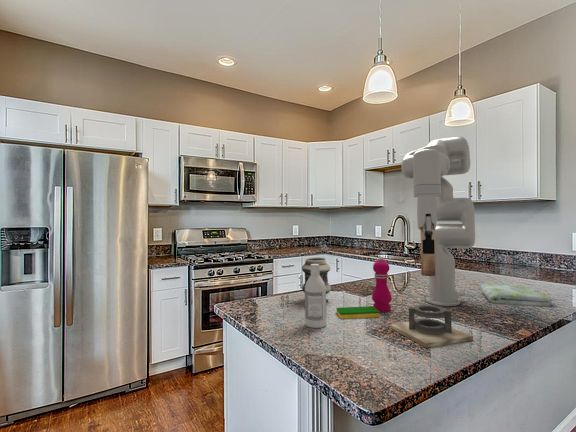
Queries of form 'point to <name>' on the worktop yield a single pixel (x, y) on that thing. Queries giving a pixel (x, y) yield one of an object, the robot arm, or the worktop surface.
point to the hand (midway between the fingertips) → (428, 252)
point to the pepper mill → (381, 286)
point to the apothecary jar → (323, 271)
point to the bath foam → (315, 299)
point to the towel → (515, 295)
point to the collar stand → (431, 327)
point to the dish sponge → (357, 312)
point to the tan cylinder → (427, 259)
